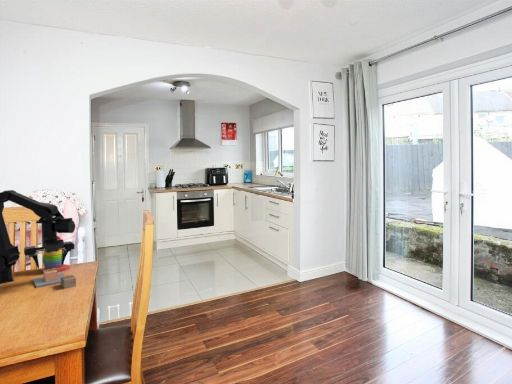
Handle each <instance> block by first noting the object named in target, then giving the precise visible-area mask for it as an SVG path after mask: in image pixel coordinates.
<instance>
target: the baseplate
mask: <svg viewBox="0 0 512 384" xmlns="http://www.w3.org/2000/svg"><path fill="white" fill-rule="evenodd" d="M61 276H66V275H65V273H64V272H60V273H57V278H58V280H54V281H49V282H45V280H44V276H38V277H34V278H32V280H33V283H34V285H35V288H37V289H38V288H42V287H48V286H53V285H58V284H61V278H60V277H61Z"/></svg>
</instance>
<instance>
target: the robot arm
mask: <svg viewBox="0 0 512 384" xmlns="http://www.w3.org/2000/svg"><path fill="white" fill-rule="evenodd" d="M6 202H11V203H13V204H17V205H18V206H21V207H23V208H25V209H27V210H31V212H33V213H34V215H36V216H37V217H39V218H38V220H37V221H35V224H41V225H40V226H41V246H38V247H36V246H35V245H30V246H24V248H23V254H24V256H26V257H27V256H28V257H29V258H32V260H33V261H34V263H35V266H36V268H37V269H38V270H39V269H40V264H39V259H38V254H37V253H38V252H44V251H46V253H50V252H57V251H59V249H62V257H61V263H62V265H63V263H64V262H65V260H66V257H67V255H68V253H69V252H71V251H72V250H75V243H74V242H72V241H64V239H62V238H61V239H62V240H57V236H58V233H59V234H73V233H75V230H76V223H75V220H73V218H72V217H66V218H65V217H64V216H63V214H62V213H61V212H60V211H59V208H58V206H57V205H55V204H53V203H48V202H40V201H38V200H36V199H33V198H31V197H29V196H26V195H23V194H21V193H20V192H17V191H16V190H14V189H10V190H4V191H2V192H0V284H3V283H9V282H13V281H15V278H14V276H13V267H12V266H15V265H16V264H17V261H18V260H19V259H20V255H21V252H20V251H19V246H18V245H15V246H14V245H13V244H12V243H11V242H12V241H11V239H10V236H9V232H8V229H7V226H6V223H5V218H4V214H3V211H4V208H5V203H6Z"/></svg>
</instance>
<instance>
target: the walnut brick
mask: <svg viewBox="0 0 512 384" xmlns="http://www.w3.org/2000/svg"><path fill="white" fill-rule="evenodd" d="M60 278H61V283H60V286H61V287H62V288H63V289H64V290H66V289H67V290H68V289H70V288H75V287H77V278H76V276H74V275H73V273H71V274H67V275H65V276H61V277H60Z"/></svg>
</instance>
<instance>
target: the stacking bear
mask: <svg viewBox="0 0 512 384" xmlns="http://www.w3.org/2000/svg"><path fill="white" fill-rule="evenodd" d="M57 240H62V237H60V235H57ZM61 257H62V249H59V251H57V252H50V253H46V251H43V254H42V264H43V267H44V268H43V270H46V269H52V268H55V269H56V270H57V273H62V272H65V271H66V270H69V269H70V268H71V267H70V265H69V264H67V263H66V264H64V263H63V265H62V263H61Z"/></svg>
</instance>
